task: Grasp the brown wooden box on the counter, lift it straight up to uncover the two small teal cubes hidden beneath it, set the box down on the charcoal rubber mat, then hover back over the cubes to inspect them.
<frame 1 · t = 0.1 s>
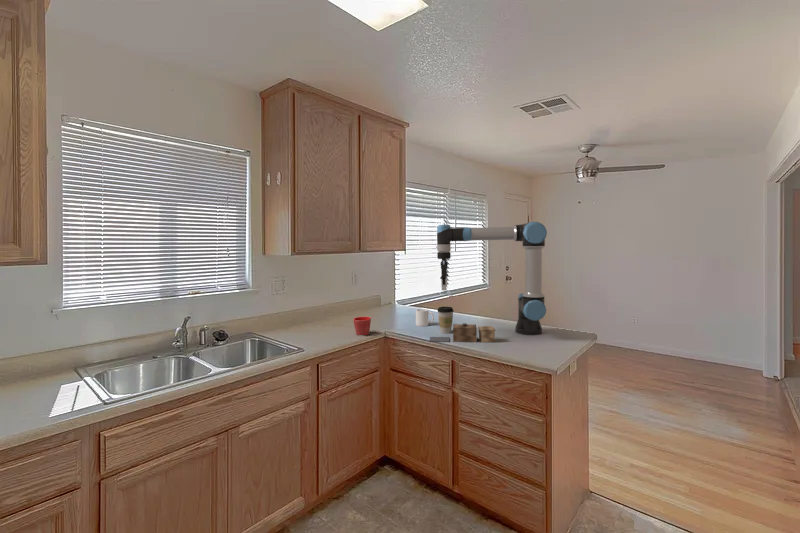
hand: (444, 288, 220), 28 cm above the worktop, fingers open, 13 cm apart
flower pot: (362, 334, 232), on the worktop
mat: (439, 339, 215), on the worktop
cube a: (469, 340, 212), on the worktop
brown wooden box: (464, 340, 213), on the worktop
cup: (424, 325, 251), on the worktop
oak box: (486, 340, 211), on the worktop
cube b: (459, 340, 213), on the worktop
coffee cup: (445, 332, 231), on the worktop
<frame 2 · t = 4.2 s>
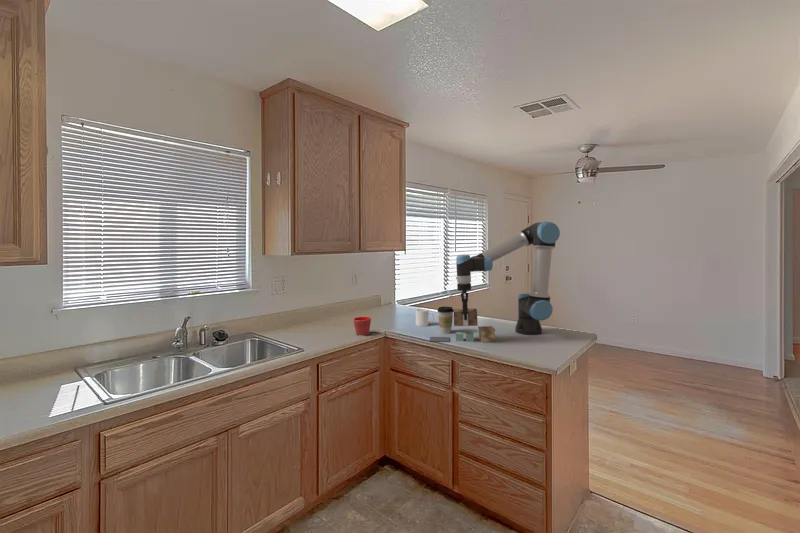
hand: (465, 323, 212), 9 cm above the worktop, fingers closed on brown wooden box, 8 cm apart
brown wooden box: (465, 324, 212), point 9 cm above the worktop, touching gripper
everything else where it was.
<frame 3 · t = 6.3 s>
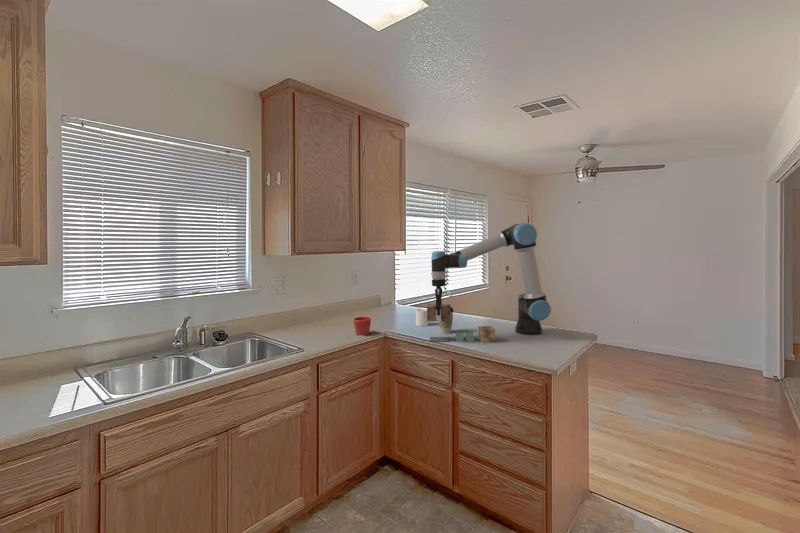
hand: (439, 319, 214), 12 cm above the worktop, fingers closed on brown wooden box, 8 cm apart
brown wooden box: (439, 319, 214), point 11 cm above the worktop, touching gripper
everything else where it was.
when the fingers open (2 cm above the worktop, at t = 8.4 s): brown wooden box stays where it is, resting on mat.
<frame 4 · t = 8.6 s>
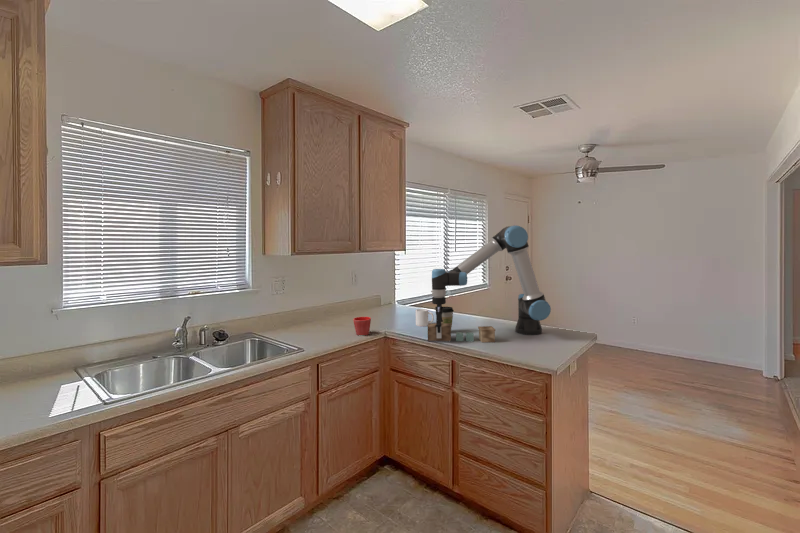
hand: (439, 335, 215), 2 cm above the worktop, fingers open, 10 cm apart
brown wooden box: (439, 339, 215), resting on mat
everything else where it was.
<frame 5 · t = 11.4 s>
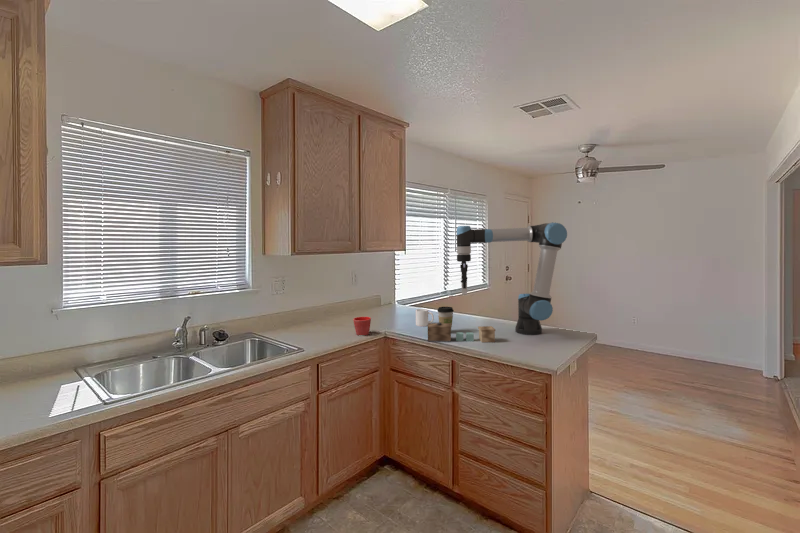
hand: (464, 292, 211), 27 cm above the worktop, fingers open, 13 cm apart
nothing on the worktop moved.
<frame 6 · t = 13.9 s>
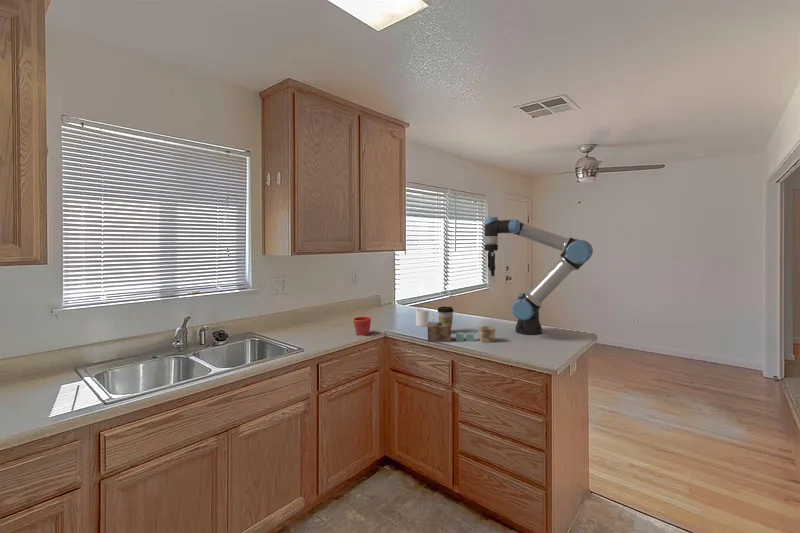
hand: (491, 280, 223), 32 cm above the worktop, fingers open, 13 cm apart
nothing on the worktop moved.
at the end: brown wooden box inside the target area on the mat (0.0 cm from its centre), point 0.4 cm above the mat's base; brown wooden box tilted 0°; the gripper is holding nothing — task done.
